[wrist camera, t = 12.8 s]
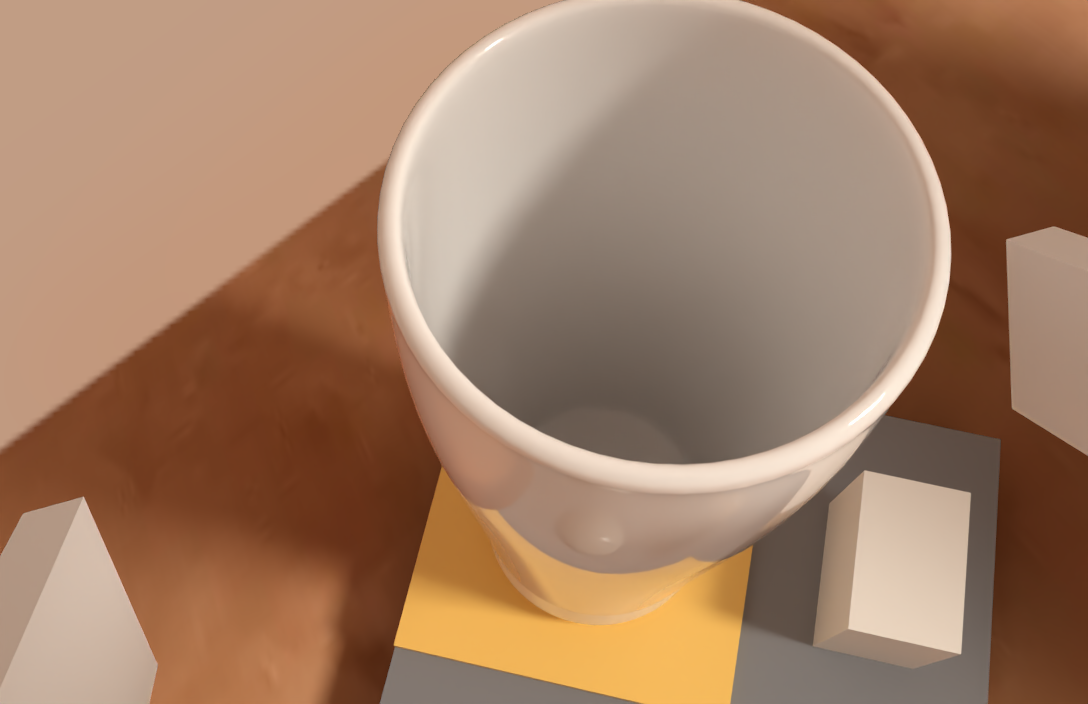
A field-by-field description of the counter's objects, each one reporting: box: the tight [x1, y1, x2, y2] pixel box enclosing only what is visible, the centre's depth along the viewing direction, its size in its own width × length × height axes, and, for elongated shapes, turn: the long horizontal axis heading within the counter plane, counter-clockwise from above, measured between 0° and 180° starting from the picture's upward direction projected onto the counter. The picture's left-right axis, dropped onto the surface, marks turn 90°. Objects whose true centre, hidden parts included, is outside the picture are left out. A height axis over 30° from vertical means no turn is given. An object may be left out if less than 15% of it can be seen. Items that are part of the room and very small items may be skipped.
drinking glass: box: [377, 0, 951, 625], centre depth 19 cm, size 7×7×15 cm
